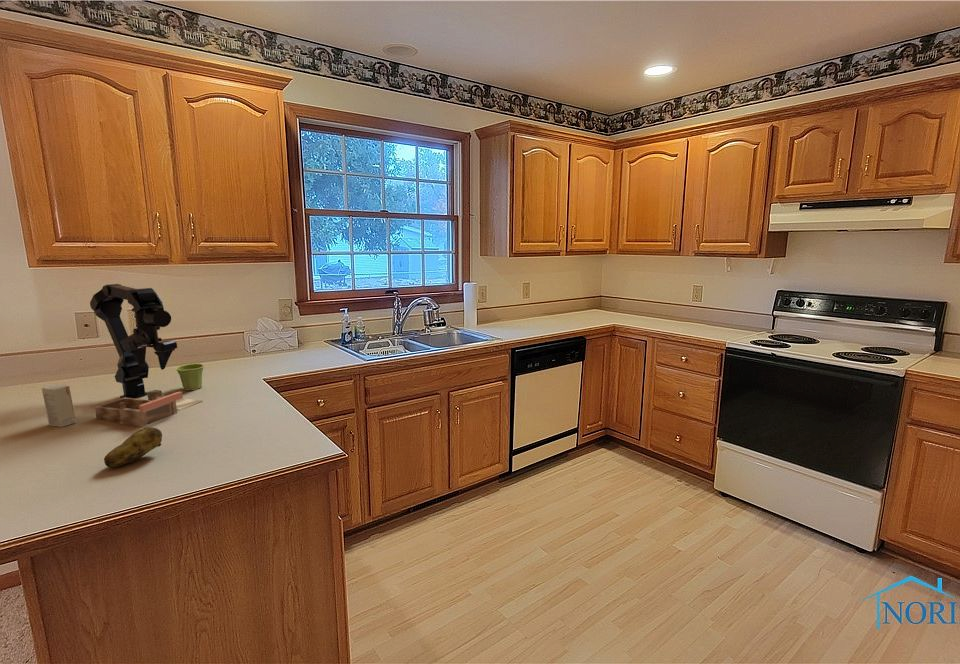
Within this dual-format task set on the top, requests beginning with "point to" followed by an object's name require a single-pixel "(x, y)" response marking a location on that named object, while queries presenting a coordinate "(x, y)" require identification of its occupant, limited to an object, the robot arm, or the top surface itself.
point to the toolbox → (134, 411)
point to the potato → (134, 447)
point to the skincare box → (59, 405)
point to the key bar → (160, 401)
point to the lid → (180, 403)
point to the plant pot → (191, 376)
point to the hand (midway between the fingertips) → (152, 368)
